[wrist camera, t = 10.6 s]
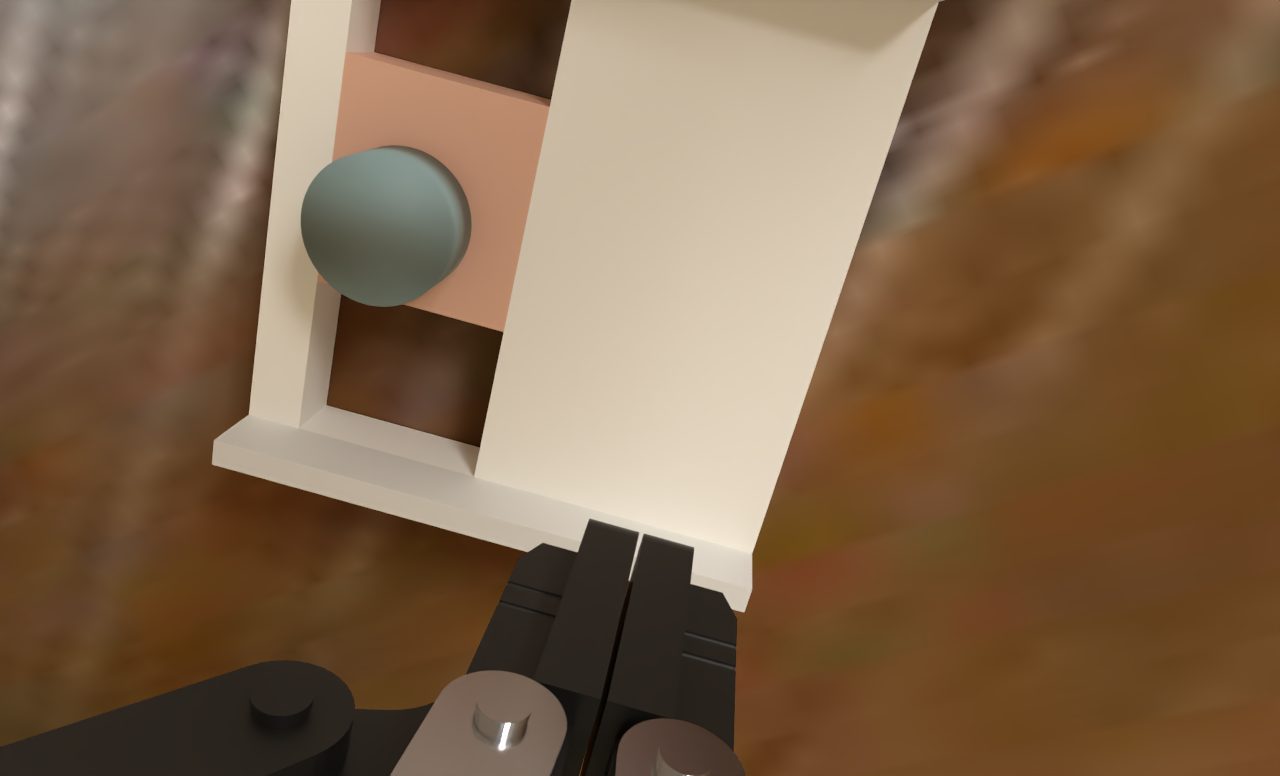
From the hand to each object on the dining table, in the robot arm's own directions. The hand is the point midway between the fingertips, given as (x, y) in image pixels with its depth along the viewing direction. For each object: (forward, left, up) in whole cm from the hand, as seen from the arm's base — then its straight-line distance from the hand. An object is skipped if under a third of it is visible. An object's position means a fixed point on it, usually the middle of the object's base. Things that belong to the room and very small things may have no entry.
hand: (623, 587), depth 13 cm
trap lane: (0, -5, -23) cm, 23 cm away
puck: (+1, -10, -20) cm, 23 cm away
